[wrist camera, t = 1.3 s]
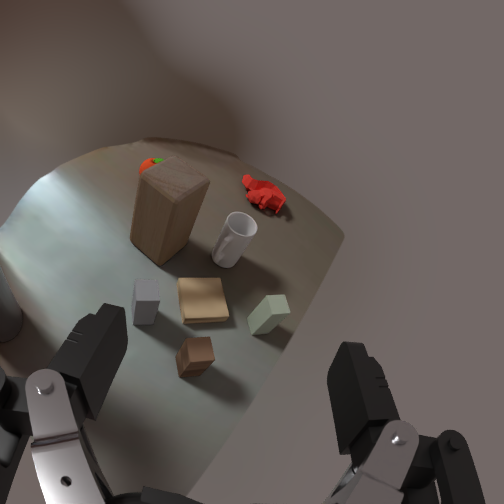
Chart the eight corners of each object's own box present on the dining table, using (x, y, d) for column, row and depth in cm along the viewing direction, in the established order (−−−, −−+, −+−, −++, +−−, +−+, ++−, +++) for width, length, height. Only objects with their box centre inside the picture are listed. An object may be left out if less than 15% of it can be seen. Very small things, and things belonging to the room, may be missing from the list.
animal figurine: (245, 177, 96) (251, 165, 92) (284, 204, 95) (292, 192, 91) (227, 192, 88) (233, 179, 84) (269, 221, 87) (277, 209, 83)
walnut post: (200, 375, 53) (215, 359, 46) (179, 377, 51) (190, 362, 44) (195, 355, 55) (210, 336, 48) (175, 357, 53) (186, 338, 46)
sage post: (268, 333, 64) (290, 312, 57) (251, 335, 62) (272, 314, 55) (263, 316, 66) (284, 294, 59) (246, 318, 65) (266, 295, 57)
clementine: (155, 169, 82) (160, 148, 77) (170, 183, 80) (176, 162, 75) (132, 177, 76) (136, 156, 71) (147, 192, 75) (152, 171, 70)
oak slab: (224, 322, 62) (229, 316, 60) (182, 324, 58) (185, 318, 56) (216, 285, 67) (220, 277, 65) (176, 285, 63) (179, 277, 61)
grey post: (153, 324, 55) (160, 300, 48) (132, 324, 53) (136, 300, 46) (151, 306, 57) (157, 279, 50) (131, 306, 56) (134, 279, 48)
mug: (221, 241, 75) (238, 207, 66) (242, 258, 74) (262, 226, 66) (195, 263, 68) (210, 228, 59) (218, 282, 67) (237, 250, 59)
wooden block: (157, 219, 71) (175, 152, 57) (188, 244, 70) (213, 179, 56) (127, 241, 64) (138, 170, 50) (159, 269, 63) (179, 202, 49)
